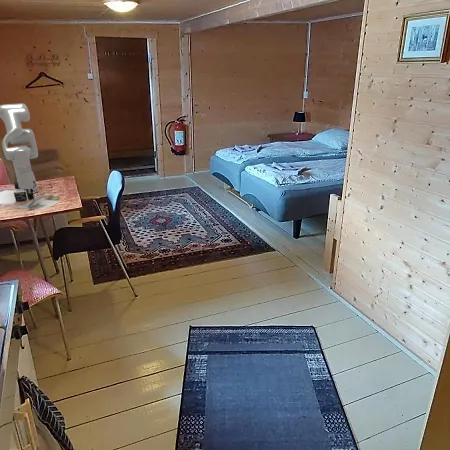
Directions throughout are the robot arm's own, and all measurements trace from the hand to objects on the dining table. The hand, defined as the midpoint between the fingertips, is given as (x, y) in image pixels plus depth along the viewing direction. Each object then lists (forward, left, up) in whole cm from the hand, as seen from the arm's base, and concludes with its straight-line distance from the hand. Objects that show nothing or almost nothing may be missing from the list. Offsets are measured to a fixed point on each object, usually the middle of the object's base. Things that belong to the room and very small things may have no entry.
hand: (31, 199), depth 247 cm
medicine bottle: (-17, +10, -6) cm, 20 cm away
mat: (+1, +4, -5) cm, 7 cm away
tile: (0, 0, -4) cm, 4 cm away
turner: (+5, +15, -5) cm, 17 cm away
